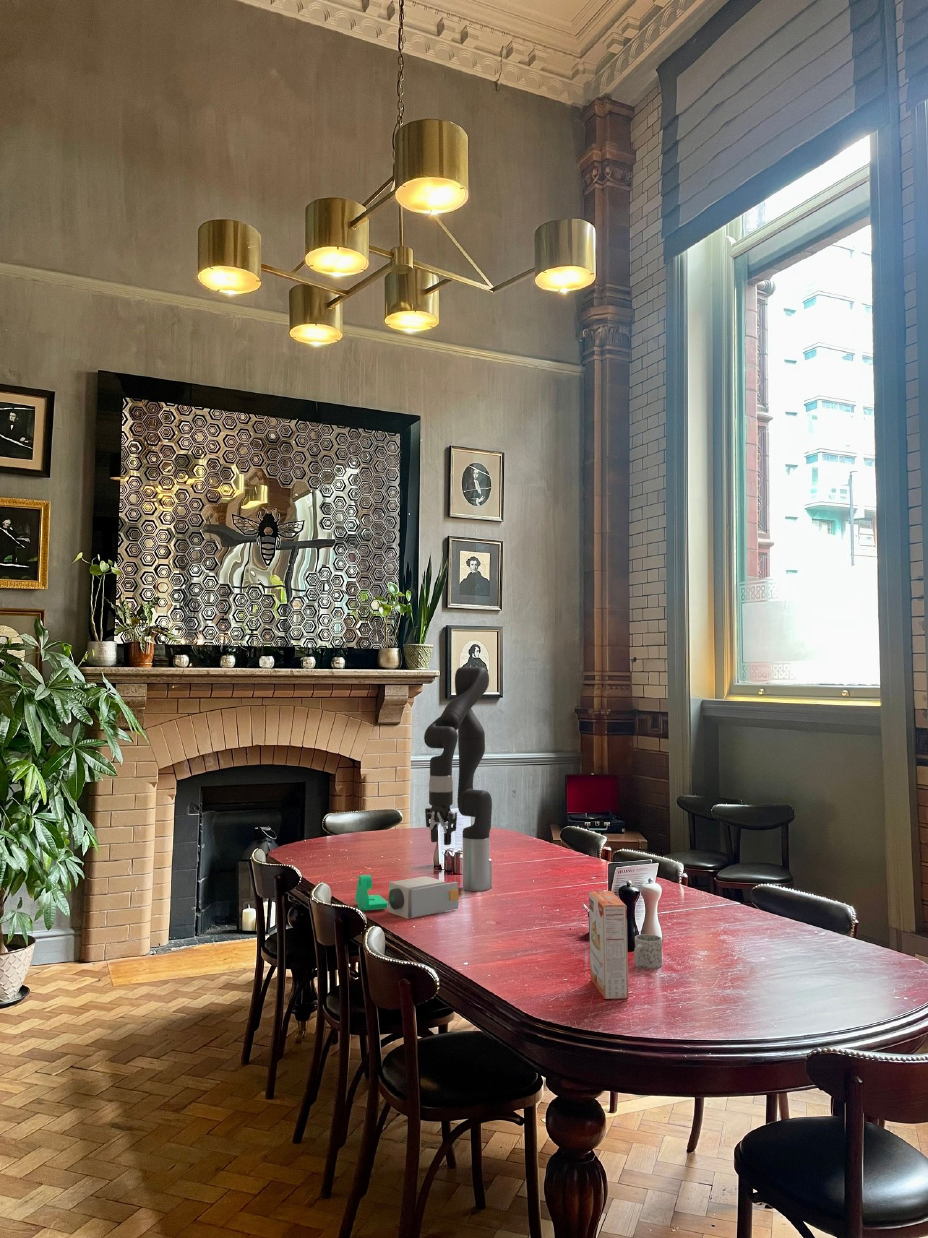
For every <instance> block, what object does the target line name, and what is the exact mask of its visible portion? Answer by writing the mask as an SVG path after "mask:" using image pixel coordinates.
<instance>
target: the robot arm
mask: <svg viewBox="0 0 928 1238" xmlns="http://www.w3.org/2000/svg"><path fill="white" fill-rule="evenodd" d="M489 684H490V675H489V672H488V670H487V668H485V667H481V666H467V667H466V666H465V667H464V666H461V667H458V668H457V669H456V671H455V674H454V689H455V698H453V699H452V700H451V701H450V702H449V703H447V705H446V706H445V708H444V710H443V711H442V713H441V715H440V716H438V717H437V718H436V719H435V720H434V721H432V723H431V724H429V725H428V727H427V728H426V730H425V732H424V735H423V741H424V744H425V746H427V748H430V749H443V750H442V753H441V755H435V756H432V757H431V758H430V760H429V782H428V803H429V805H430V806H431V807H426V808H425V809H424V813H425V827H426V828H428V829H429V830H430V841H431V843H438V841H439V829H438V828H439V825H440V826H441V827H442V829H443V845H444V846H450V845H452V833H453V832H456V831H457V821H458V820H457V819H458V813H457V811H452V809H451V806H452V805H453V803H454V797H453V796H454V792H453V791H454V789H453V788H454V785H453V784H454V782H453V781H454V780H453V759H454V754H455V751H456V747H457V746H458V783H457V796H456V797H457V800H456V801H457V809H458V812H459V814H460V815H462V816H463V817H470V818H474V822H473V824H471V825H470V826H466V827H464V828H463V829H462V889H463V890H465V891H470V892H483V891H487V890H490V889H491V888H493V881H492V880H493V868H492V867H493V863H492V861H493V860H492V859H491V858H490V832H491V827H492V814H493V813H492V812H493V799H492V796H491V794H490V792H489V791H488V790H483V789H474V777H475V773H476V770H477V769H478V766H479V765H480V762H481V761H482V759H483V757H484V755H485V752H486V736H485V734H486V733H485V730H484V728H483V726H482V724H481V722H480V721H479V719H478V717H477V716H476V714H475V713H474V711H473V709H472V708H473V706H475V704H476V703H477V702H478V701H480V698H482V697H483V695H484V694H485V693H486V692H487V690H488V688H489Z"/></svg>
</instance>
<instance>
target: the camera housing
mask: <svg viewBox="0 0 928 1238" xmlns="http://www.w3.org/2000/svg"><path fill="white" fill-rule="evenodd" d="M440 884H446V881H444V880H441V879H437V878H434V877H430V876H426V875H425V876H420V877H412V878H407V879H400V880H396V881H395V880H394V881H389V882H388V912H389V913H391V914H393V915H396V916H399V917H402V918H405V919H406V920H408V919H410V918H409V890H411V889H417V888H423V887H428V886H434V885H440ZM443 912H445V911H443ZM443 912H442V913H443ZM428 915H429V916H430V914H428ZM428 915H427V916H428ZM432 915H435V913H433V914H432ZM418 917H420V916H418ZM418 917H417V918H418ZM414 918H415V917H413V918H412V919H414Z"/></svg>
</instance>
